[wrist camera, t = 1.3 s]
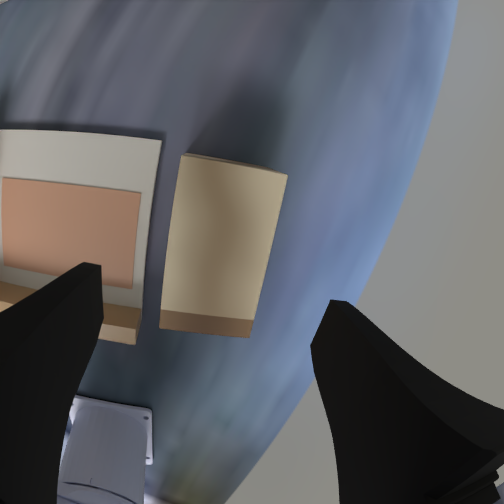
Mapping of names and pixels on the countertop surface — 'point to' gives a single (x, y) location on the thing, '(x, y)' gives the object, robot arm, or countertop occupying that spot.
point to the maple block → (219, 244)
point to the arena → (77, 216)
